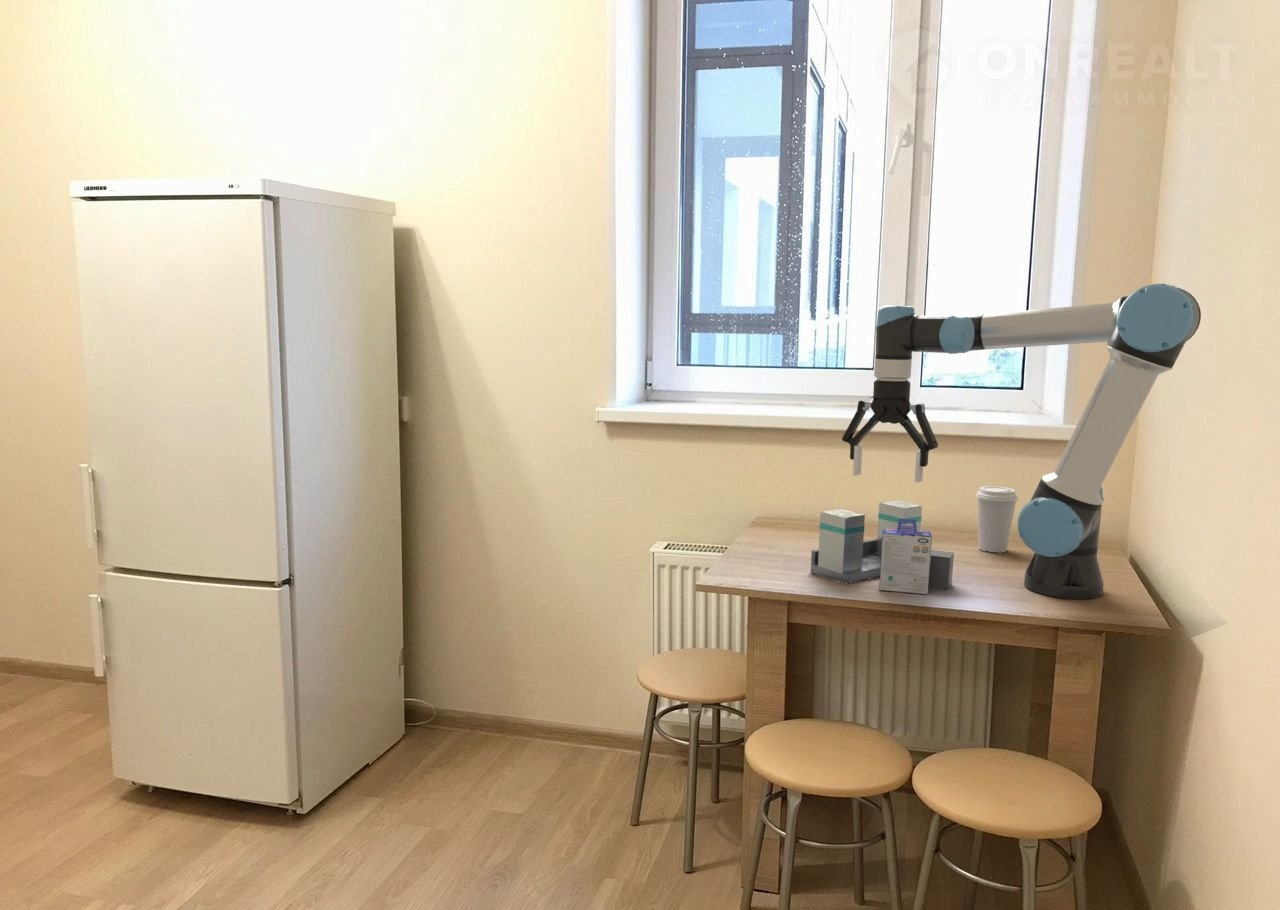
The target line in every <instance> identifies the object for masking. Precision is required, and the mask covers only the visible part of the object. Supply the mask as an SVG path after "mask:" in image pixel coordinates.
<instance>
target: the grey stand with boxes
mask: <svg viewBox="0 0 1280 910" xmlns="http://www.w3.org/2000/svg"><path fill="white" fill-rule="evenodd" d="M878 505H879V506H878V515H877V516H878V517H877V518H878V521H877V523H878V524H877V538H872V539H868V540H864V537H865V536H864V535H865V519H866V515H865V514H863V513H859V512H855V511H850V510H846V509H842V508H837V509H831V510H830V509H829V510H823V511H820V517H819V536H818V537H819V539H818V549H813V550H811V556H810V557H811V560H810V561H811V562H810V574H812V573H814V574H813V575H816V574H818V575H817V576H819V575H821V576H820V577H822V576H824V577H823V578H825V577H827V578H826V579H828V578H830V579H829V580H831V579H834V580H837V581H840V582H839V583H841V582H843V583H842V584H844V583H848V584H851V583H850V582H853V583H856V582H855V581H857V582H860V581H859V580H862V581H865V580H864V579H866V580H869V578H871V579H875V578H880V577H879V576H880V565H881V546H882V533H883V529H896V530H897V528H898V521H899V519H909V520H916V529H917V531H921V524H922V518H923V517H922V510H923V505H920V504H917V503H912V502H908V501H903V500H898V499H894V500H890V501H887V500H886V501H882V502H879V503H878ZM901 526H909V527H913V524H911V523H901ZM874 577H875V578H874ZM834 580H833V581H834ZM837 581H836V582H837Z"/></svg>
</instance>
